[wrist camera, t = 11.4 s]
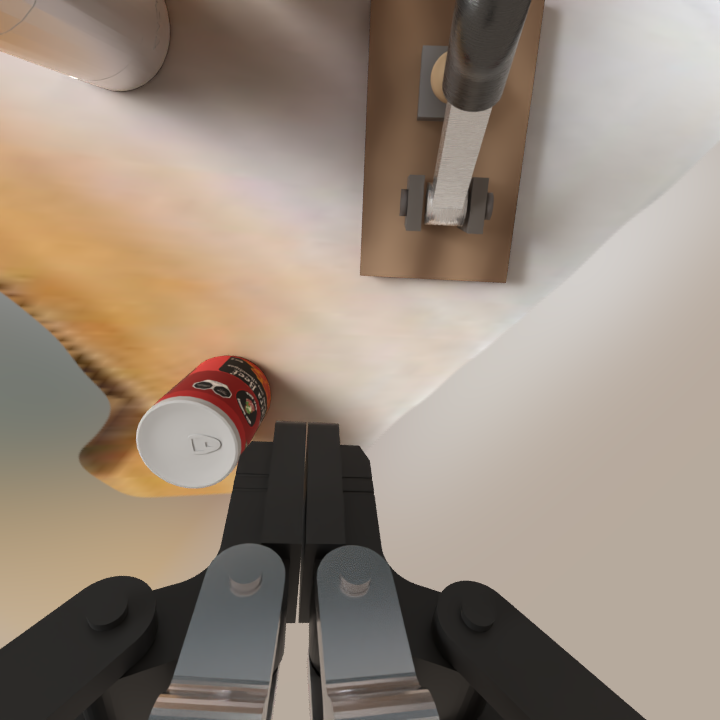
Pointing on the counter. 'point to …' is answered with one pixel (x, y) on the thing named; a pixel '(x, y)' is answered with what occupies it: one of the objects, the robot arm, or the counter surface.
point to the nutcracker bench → (436, 149)
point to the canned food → (204, 422)
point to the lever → (471, 97)
